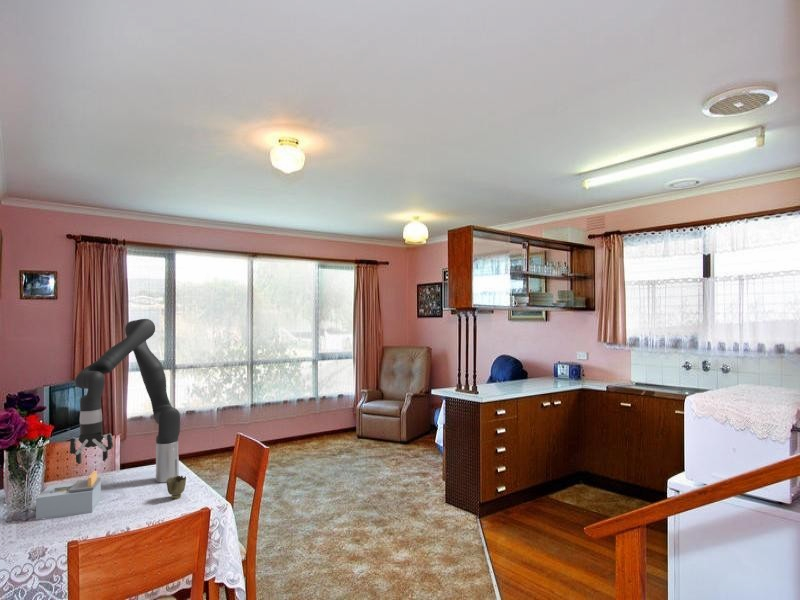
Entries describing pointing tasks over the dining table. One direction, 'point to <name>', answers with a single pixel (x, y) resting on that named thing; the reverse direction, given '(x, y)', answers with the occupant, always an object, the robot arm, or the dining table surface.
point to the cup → (176, 486)
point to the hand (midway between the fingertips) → (92, 461)
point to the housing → (66, 501)
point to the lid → (86, 483)
